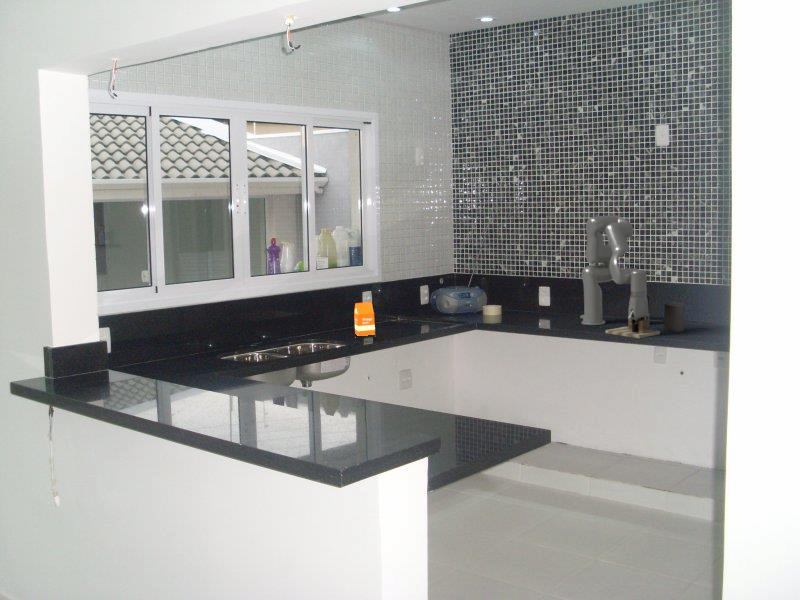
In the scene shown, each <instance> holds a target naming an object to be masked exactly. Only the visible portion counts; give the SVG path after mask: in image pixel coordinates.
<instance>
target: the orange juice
mask: <svg viewBox="0 0 800 600" xmlns="http://www.w3.org/2000/svg"><path fill="white" fill-rule="evenodd" d="M354 304H355V305H354V313H353V314H354V315H353V316H354V332H355V333H354V334H356V335H357V336H368V335H375V336H376V327H375V326H376V325H375V312H374V308H373V303H372V301H368V302H367V301H366V302H356V303H354Z"/></svg>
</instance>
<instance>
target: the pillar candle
mask: <svg viewBox="0 0 800 600" xmlns="http://www.w3.org/2000/svg"><path fill="white" fill-rule="evenodd" d="M663 330H664V331H665V332H670V333H680V332H684V331H685V303H684V302H675V301H673V302H672V301H671V302H665V303H664V329H663Z"/></svg>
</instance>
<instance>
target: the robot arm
mask: <svg viewBox="0 0 800 600" xmlns="http://www.w3.org/2000/svg"><path fill="white" fill-rule="evenodd" d="M585 232H586V246H585V247H586V249H585V250H586V251H585V259H586V261H587V263H589V264H592V265H587V266H585V267H584V268H583V269H582V270H581V279H582V283H583V303H584V304H583V305H584V310H583V311H584V312H583V313H584V314H582V315H580V316H579V318H580V319H582V320H581V324H582V325H585V326H600V325H605V324H606V321H605V320H603V291H602V288H601V286H600V285H599V283H600V284H601V283H607V282H611V281H612V280H613V282H614V283H616V284H617V285H626V284H630V294H631V298H630V297H629V303H628V314H627V315H628V317H627V319H629V320H630V321H631V324H632V331H633V332H638V324H637V322H638V318H640V319H645V320H647V319H648V317H649V318H650V316H651V314H650V309H649V310H648V300H647V294H648V291H647V290H648V289H647V284H648V283H647V282H648V281H647V278H648V277H647V275H648V274H647V271H646V270H644V269H638V268H636V267H634V268H633V267H632V268H621V267H620V266H619V258H621V257H622V256H624V255H625V254H627V253H628V252H629V250H630V246H629V244H628V241H627V239H628V238H632V237H633V235H634V227H633V225H632V224H631V223H630V222H629V220H627V219H625V218H623V217H621V216H620V215H617V214H616V215H615V214H612V215H596V216H592V217H590V218H588V219H587V221H586V224H585ZM602 233H605V235H606V237H607V240H608V243H609V244H604V235H603V234H602ZM634 317H635V318H634ZM634 319H635V320H634Z"/></svg>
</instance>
